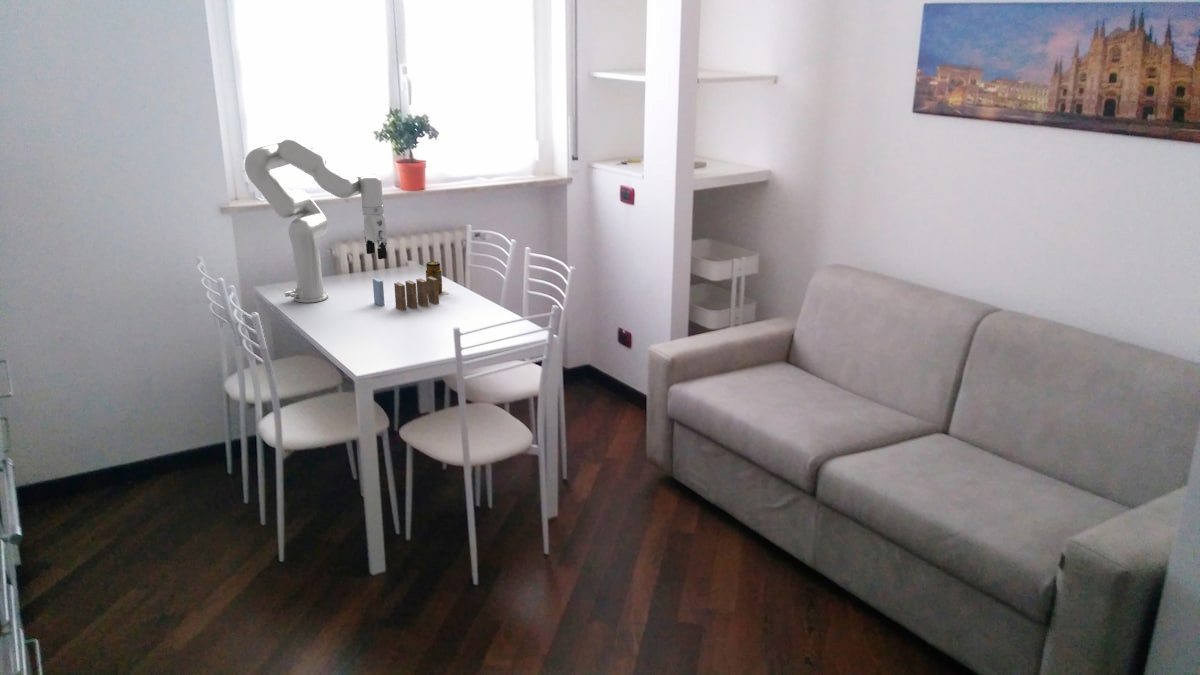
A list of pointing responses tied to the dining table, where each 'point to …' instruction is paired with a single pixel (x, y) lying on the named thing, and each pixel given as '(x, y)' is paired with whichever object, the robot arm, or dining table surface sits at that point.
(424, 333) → the dining table surface
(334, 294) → the dining table surface
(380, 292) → the domino
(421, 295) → the domino
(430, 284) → the domino
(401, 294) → the domino
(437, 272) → the condiment
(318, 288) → the robot arm
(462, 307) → the dining table surface
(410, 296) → the domino
